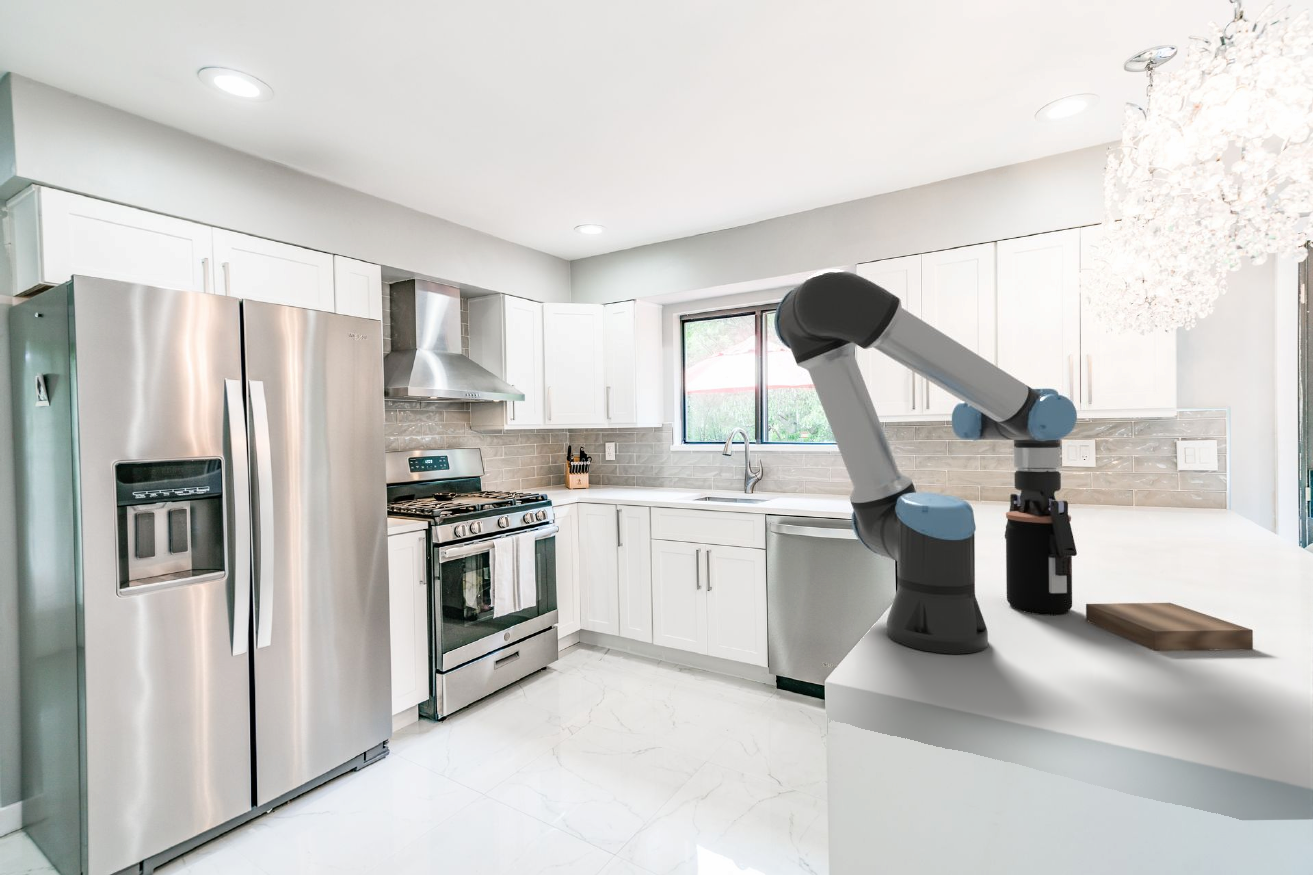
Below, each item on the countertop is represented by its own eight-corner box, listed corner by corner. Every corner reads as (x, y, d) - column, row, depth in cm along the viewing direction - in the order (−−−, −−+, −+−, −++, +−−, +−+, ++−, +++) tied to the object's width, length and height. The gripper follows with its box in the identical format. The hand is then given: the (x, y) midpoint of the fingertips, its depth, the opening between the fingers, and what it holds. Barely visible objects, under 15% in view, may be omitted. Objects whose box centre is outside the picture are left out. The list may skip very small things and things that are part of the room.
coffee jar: (1085, 616, 111) (1084, 517, 111) (1026, 616, 111) (1025, 518, 111) (1049, 600, 121) (1048, 510, 121) (995, 600, 122) (994, 511, 122)
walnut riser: (1155, 650, 93) (1155, 631, 93) (1086, 620, 108) (1086, 603, 108) (1252, 649, 93) (1252, 630, 93) (1170, 619, 108) (1170, 602, 108)
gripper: (1100, 473, 104) (1102, 601, 105) (1020, 466, 128) (1021, 570, 128) (1057, 474, 105) (1058, 601, 105) (984, 466, 128) (986, 571, 128)
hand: (1038, 584), depth 116 cm, fingers closed on coffee jar, 11 cm apart
